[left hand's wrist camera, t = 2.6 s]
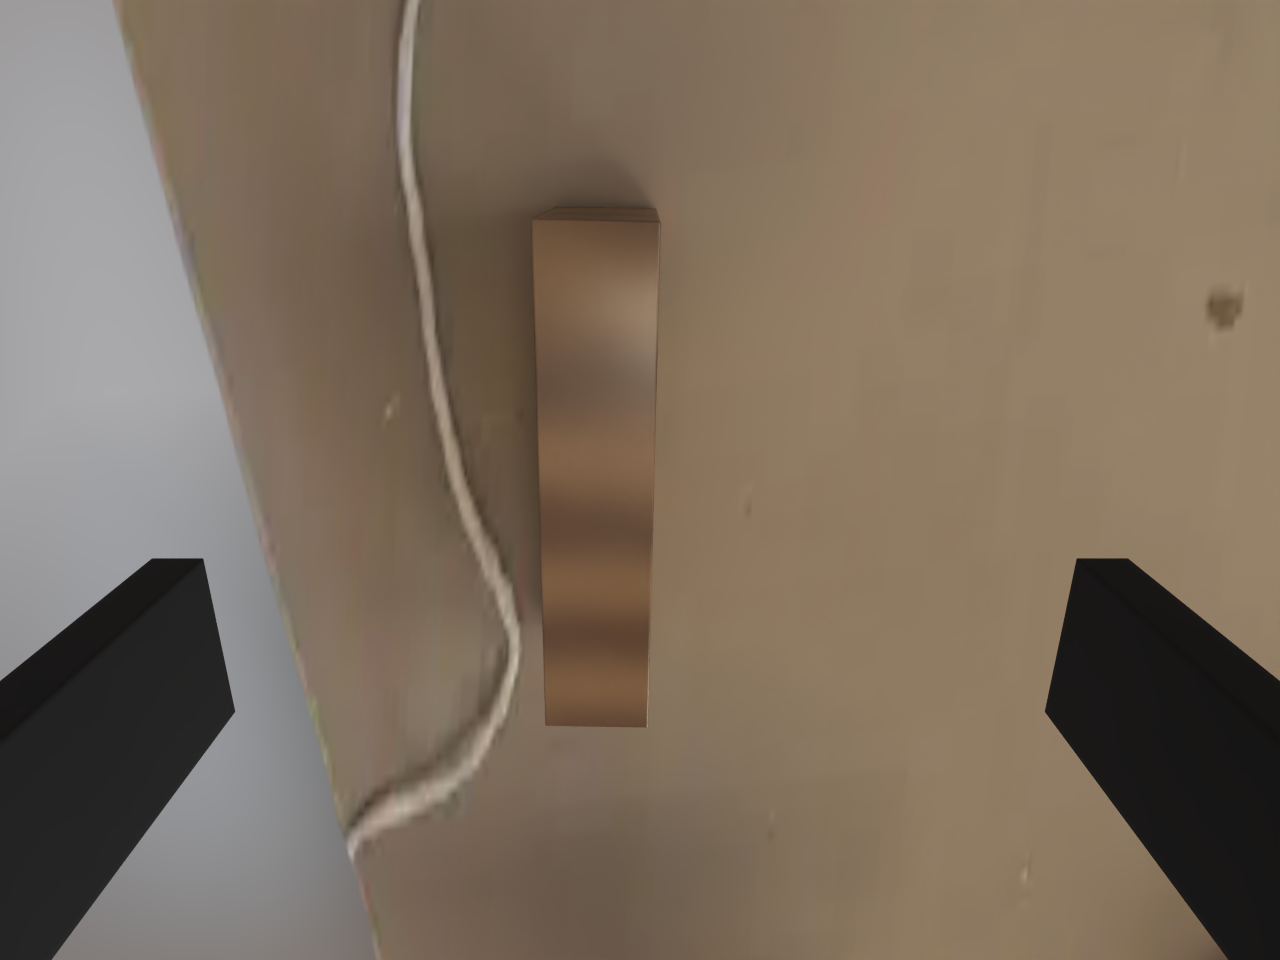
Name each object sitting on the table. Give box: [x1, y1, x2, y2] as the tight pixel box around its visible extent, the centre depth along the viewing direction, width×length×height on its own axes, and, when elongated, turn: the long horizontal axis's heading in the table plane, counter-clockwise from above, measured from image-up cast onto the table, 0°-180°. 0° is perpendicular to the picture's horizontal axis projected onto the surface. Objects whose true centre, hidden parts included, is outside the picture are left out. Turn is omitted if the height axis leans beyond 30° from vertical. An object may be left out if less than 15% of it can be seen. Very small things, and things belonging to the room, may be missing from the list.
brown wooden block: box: [531, 207, 661, 727], centre depth 41 cm, size 24×5×10 cm, turn 179°
